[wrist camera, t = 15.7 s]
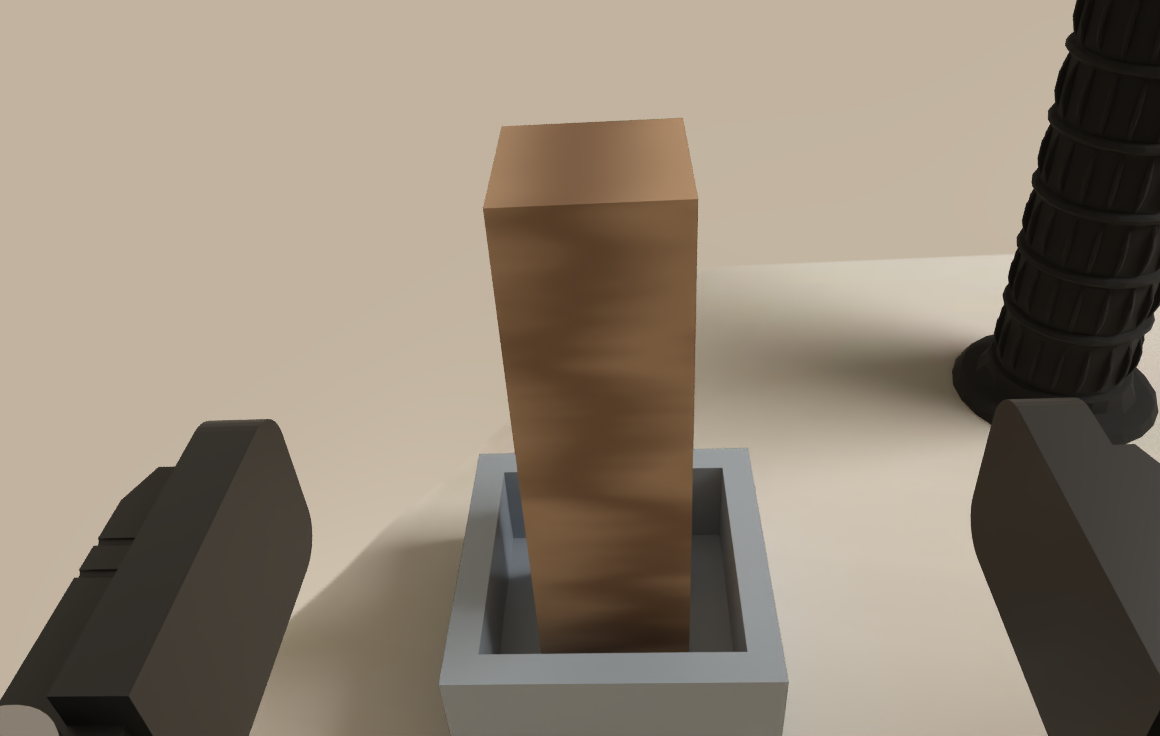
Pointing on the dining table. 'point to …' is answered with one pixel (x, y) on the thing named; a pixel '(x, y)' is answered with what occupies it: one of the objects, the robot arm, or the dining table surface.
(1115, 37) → the handle grip
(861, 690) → the dining table surface
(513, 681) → the box
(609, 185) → the walnut handle block
